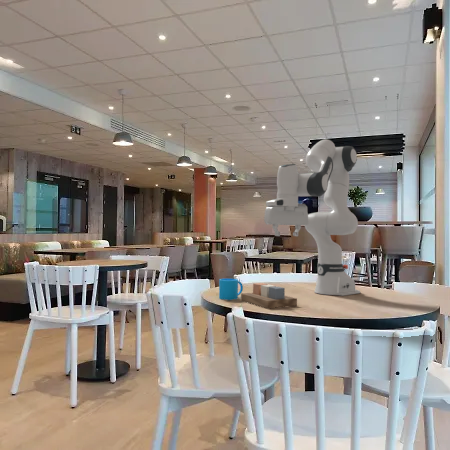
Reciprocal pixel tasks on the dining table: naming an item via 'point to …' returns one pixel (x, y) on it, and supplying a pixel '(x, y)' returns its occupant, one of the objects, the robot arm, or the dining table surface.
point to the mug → (229, 289)
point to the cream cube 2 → (265, 290)
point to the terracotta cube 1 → (257, 288)
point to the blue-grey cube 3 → (276, 293)
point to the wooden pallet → (268, 301)
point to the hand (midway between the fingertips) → (286, 236)
